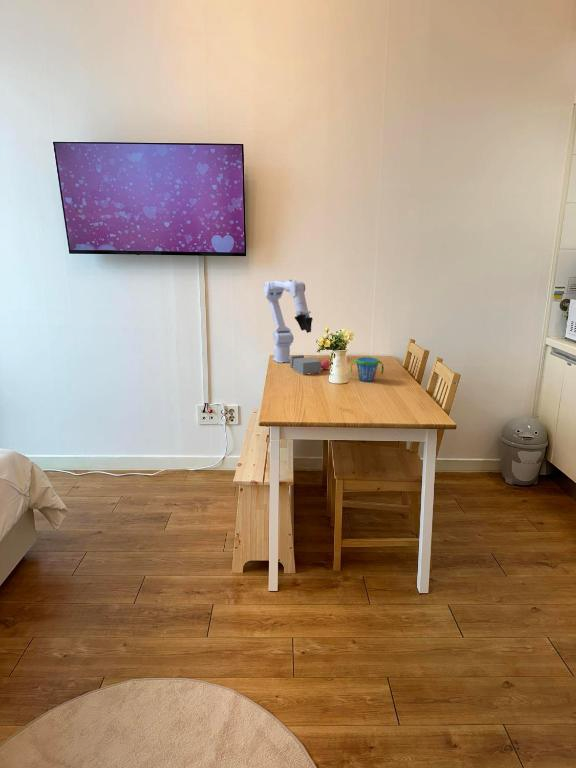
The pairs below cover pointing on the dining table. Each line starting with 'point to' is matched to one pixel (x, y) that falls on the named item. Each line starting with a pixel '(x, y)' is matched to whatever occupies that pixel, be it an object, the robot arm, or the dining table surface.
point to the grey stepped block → (305, 364)
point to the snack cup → (367, 368)
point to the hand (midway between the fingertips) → (306, 331)
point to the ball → (325, 364)
